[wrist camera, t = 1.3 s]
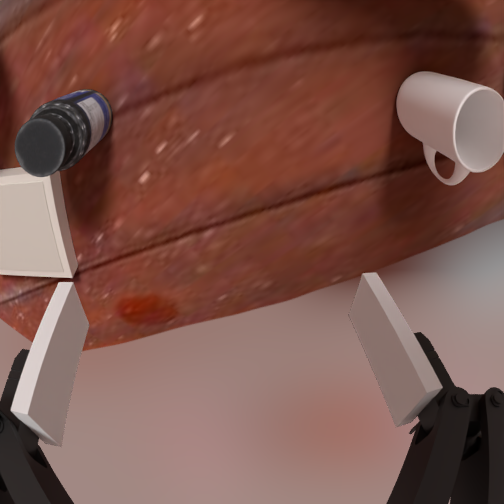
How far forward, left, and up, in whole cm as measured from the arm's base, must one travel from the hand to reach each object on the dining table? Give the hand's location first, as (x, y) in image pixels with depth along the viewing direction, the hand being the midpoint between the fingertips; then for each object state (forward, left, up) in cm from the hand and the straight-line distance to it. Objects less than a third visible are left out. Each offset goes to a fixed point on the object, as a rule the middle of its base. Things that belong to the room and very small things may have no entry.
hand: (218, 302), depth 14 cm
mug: (-7, +24, -22) cm, 33 cm away
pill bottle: (-4, -13, -22) cm, 26 cm away
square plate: (+8, -24, -22) cm, 34 cm away
